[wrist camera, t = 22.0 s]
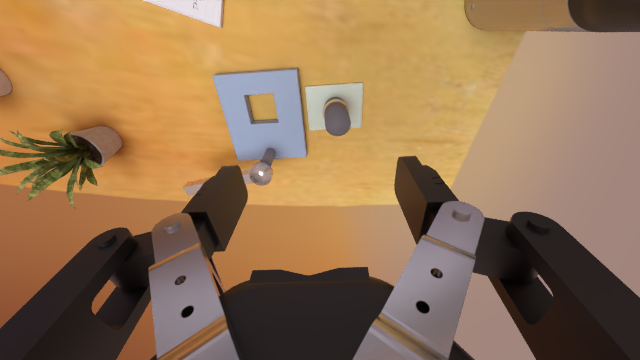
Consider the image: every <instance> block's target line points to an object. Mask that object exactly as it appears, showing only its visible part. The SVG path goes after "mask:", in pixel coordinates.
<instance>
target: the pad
mask: <svg viewBox="0 0 640 360" xmlns="http://www.w3.org/2000/svg"><path fill="white" fill-rule="evenodd" d="M305 90H306V100H307V111H308V121H309V130H326V128H325V120H324V118H323V108H324V105H325V103H326V101H327V100H328V99H330V98H332V97H339V98H341V99H342V100H343V101H344V102H345V103H346V104H347V106H348V108H349V117H350V120H351V126H350V128H360V127H361V124H362V96H363V82H360V83H345V84H330V85H316V86H305Z"/></svg>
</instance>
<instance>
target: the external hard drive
mask: <svg viewBox="0 0 640 360" xmlns="http://www.w3.org/2000/svg"><path fill="white" fill-rule="evenodd" d="M144 1H146V2H149V3H152V4H155V5H158V6H160V7H163V8H166V9H169V10H172V11H174V12H177V13H180V14H183V15H186V16H188V17H191V18H194V19H197V20H200V21H202V22H205V23H208V24H211V25H214V26H216V27H219V28H222V24H223V9H224V2H223V0H144Z"/></svg>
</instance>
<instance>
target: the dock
mask: <svg viewBox="0 0 640 360" xmlns="http://www.w3.org/2000/svg"><path fill="white" fill-rule="evenodd" d="M213 79H214V83H215V86H216V89H217V93H218V96H219V99H220V102H221V106H222V109H223V112H224V116H225V119H226V122H227V126H228V129H229V132H230V135H231V139H232V142H233V145H234V149H235V152H236V155H237V159H238V161H241V160H260V159H262V160H261V162H262V163H266V164H268V165H269V166H270V167H271V165H272V162H273V159H279V158H297V157H306V156H307V148H306V139H305V129H304V120H303V111H302V102H301V93H300V84H299V75H298V68H289V69H275V70H261V71H247V72H234V73H220V74H215V75H213ZM271 93H274V99H275V105H276V110H277V116H278V119H273V120H257V121H254V120H253V116H252V112H251V107H250V103H249V99H248V95H256V94H271Z"/></svg>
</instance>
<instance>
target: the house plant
mask: <svg viewBox="0 0 640 360" xmlns="http://www.w3.org/2000/svg"><path fill="white" fill-rule="evenodd" d="M10 132H11V131H10ZM70 132H71V131H70ZM70 132H69V133H67V134H65V135H62V130H60V131H52V132H51V133H50V137H51V138H52V139H53V140H54V141H56V142H58V143H52V142H45V141H39V140H34V139H31V138H27V137H25V136H24V137H23V136H22V135H21V134H20V132H19V131H18V130H17V133H18V134H16V133H14V132H11V133H13V134H14V135H15V136H17V137H18V138H19V140H20V142H21V143H22V144H23V145H22V144H18V143H14V142H10V141H6V140H4V139H2V138H0V140H1V141H2V142H4V143H6V144H9V145H12V146H16V147H21V148H28V149H33V150H36V151H39V152H45V153H37V154H34V153H17V152H9V151H4V150H0V155H3V156H9V157H17V158H30V157H42V159H39V160H34V161H30V162H25V163H21V164H16V165H12V166H8V167H4V168H2V169H0V175H4V174H9V173H14V172H18V171H23V170H36V171H34V172H32V173H31V174H29V175H28V176H27V177H26V178H25V179H24V180H23V182H21V184H20V186H19V188H18V191H17V193H18V192H19V191H20V190H21V189H22V188H23V187H24V186H25V185H26V184H27V183H33V185H32V190H31V192H30V193H29V195H28V200H30V199H32V198H33V197H35V196H36V195H37V194H39V193H40V192H41V191H43V190H44V189H45V188H46V187H48V186H49V185H50V184H52V183H53V182H55V181H56V180H58V179H59V178H61V177H63V176H65V175H66V174H67V173H69V172H70V171H71V170H72V169H73V171H72V174H71V176H70V179H69V181H68V185H67V196H68V199H69V201H70V204H71V205H72V206H73V207H74V208H75V206H74V203H73V187H74V183H75V182H76V184H77V185H79V189H80V190H81V188H82V185H83V183H84V182H85V179H86V177H87V180H88V181H89V182H90V183H92V184H94V185H96V186H98V185H97V181H96V179H95V177H94V174H93V172H92V169H95V168H99V167H103V166H102V165H103V164H104V163H105V162H106V161H107V160H108V159H109V158H110V157H111V156H112V155H114V154H115V153H116V152H117V151H118V150H119V149H120V148H121V147H122V140H121V138H120V136H119V135H118V133H117V132H115V131H114V130H113V129H111V128H109V127H106V126H98V127H94V128H89V129H85V130H81V131H76V132H72V133H70ZM31 142H32V143H31ZM33 143H36V144H41V145H54V146H60V147H41V146H37V145H35V144H33ZM43 157H46V158H43ZM79 166H82V167H81V173H80V180H79V184H78V182H77V172H78V169H79ZM54 167H55V168H54ZM52 168H54V169H52ZM50 169H52V170H51V171H49V170H50ZM48 171H49V172H48ZM46 172H48V173H46ZM45 173H46V174H45ZM44 174H45V175H44ZM43 175H44V176H43ZM42 176H43V177H42ZM36 177H37V178H36ZM40 177H41V178H40ZM34 178H36V180H35V181H31V180H33V179H34ZM39 178H40V179H39ZM38 179H39V180H38ZM37 180H38V181H37Z"/></svg>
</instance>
